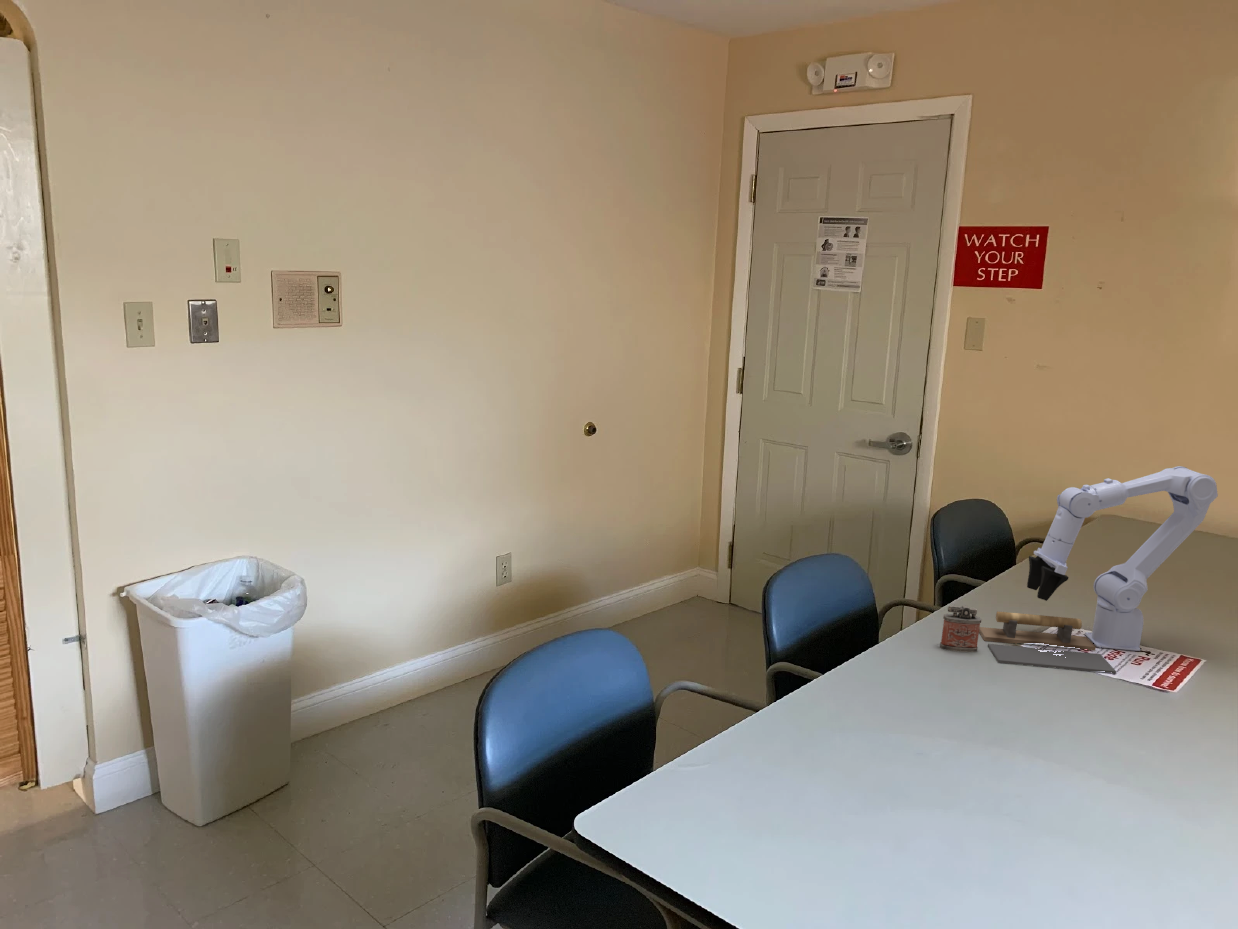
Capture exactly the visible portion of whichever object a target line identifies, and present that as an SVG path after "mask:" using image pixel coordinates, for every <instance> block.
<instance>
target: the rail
mask: <svg viewBox="0 0 1238 929" xmlns="http://www.w3.org/2000/svg"><path fill="white" fill-rule="evenodd" d="M995 620H996V621H995V622H996V623H1003V624H1004V623H1009V620H1014V621H1017V625H1026V626H1027V625H1028V626H1038V627H1050V628H1058V627H1059V628H1064V625H1070V626H1073V628H1072V630H1073V629H1074V630H1081V629H1082V626H1083V625H1082V623H1083V622H1082V619H1081V618H1076V617H1075V618H1073V617H1064V616H1054V615H1044V614H1043V615H1042V614H1040V615H1039V614H1030V613H1018V612H1008V611H996V614H995Z"/></svg>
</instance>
